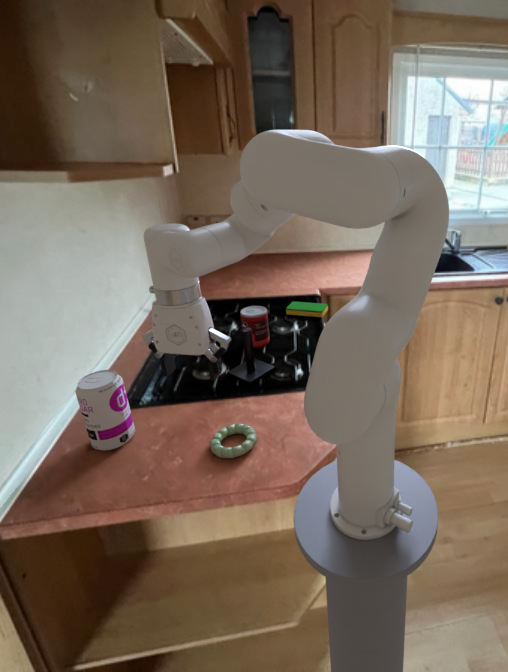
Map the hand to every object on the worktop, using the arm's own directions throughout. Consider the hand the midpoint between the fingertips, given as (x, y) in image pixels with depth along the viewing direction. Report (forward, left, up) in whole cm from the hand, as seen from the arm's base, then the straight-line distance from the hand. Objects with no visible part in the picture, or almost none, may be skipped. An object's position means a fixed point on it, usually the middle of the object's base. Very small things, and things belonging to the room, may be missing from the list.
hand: (193, 374), depth 80 cm
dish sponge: (+27, -64, -18) cm, 72 cm away
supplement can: (+18, +10, -18) cm, 27 cm away
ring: (-5, -3, -16) cm, 17 cm away
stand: (+13, -24, -17) cm, 33 cm away
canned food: (+25, -37, -18) cm, 48 cm away
